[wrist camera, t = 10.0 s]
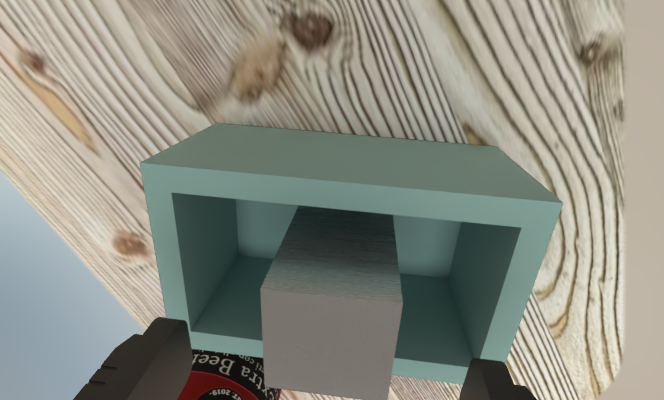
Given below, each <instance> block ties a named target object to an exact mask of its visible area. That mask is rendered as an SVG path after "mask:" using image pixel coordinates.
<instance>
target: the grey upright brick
mask: <svg viewBox="0 0 664 400" xmlns="http://www.w3.org/2000/svg"><path fill="white" fill-rule="evenodd" d="M260 293H261V316H262V338H263V361H264V383H265V387H270V388H277V389H285V390H292V391H300V392H308V393H315V394H323V395H331V396H338V397H346V398H354V399H361V400H387V398H388V392H389V386H390V380H391V374H392V368H393V362H394V356H395V350H396V344H397V338H398V332H399V326H400V319H401V313H402V307H403V300H402V291H401V282H400V273H399V265H398V256H397V247H396V238H395V229H394V220H393V215H391V214H381V213H371V212H361V211H351V210H341V209H331V208H321V207H311V206H301V205H299V206H298V208H297V210H296V212H295V214H294V217H293V219H292V221H291V223H290V225H289V227H288V230H287V232H286V234H285V236H284V238H283V241H282V243H281V245H280V247H279V249H278V251H277V254H276V256H275V258H274V260H273V262H272V265H271V267H270V269H269V271H268V273H267V275H266V278H265V280H264V282H263V284H262V286H261V288H260Z"/></svg>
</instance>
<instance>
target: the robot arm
mask: <svg viewBox="0 0 664 400" xmlns="http://www.w3.org/2000/svg"><path fill="white" fill-rule="evenodd" d="M192 364H193V355H192V349H191V343H190V336H189V330H188V324H187V322H186V321H185V320H179V319H171V318H163V317H158V318H156V319H155V320H154V321H153V322H152V323H151V325H150V326H149V327H148V329H147V330H146V331H145V332H144V334H143V335H138V334H134V335H133V336H131V337H130V338H129V339H127V340H126V341H125V342H123V343H122V344H120V345H119V346H118V347H116V348H115V349H114V351H113V352H112V353H111V354H110V355H109V357H108V358H107V359H106V360H105V361H104V363H103V364H102V365H101V368H100V369H98V370H97V371H96V372H95V374H94V375H93V376H92V377H91V379H90V380H89V383H88V384H86V385H85V386H84V387H83V388H82V389H81V391H80V392H79V393H78V394H77V395H76V397H75V398H74V399H73V400H177V399H178V397H179V395H180V393H181V392H182V390H183V388H184V386H185V384H186V382H187V380H188V378H189V375H190V373H191V369H192ZM459 400H537V399H536V398H535V397H534V396H533V395H532V393H531V392H530V391H529V390H528V389H527V387H526V386H520V385H514V383H513V381H512V378H511V376H510V373H509V371H508V368H507V366H506V365H505V363H504V362H502V361H496V360H488V359H480V358H472V360H471V362H470V365H469V368H468V371H467V374H466V377H465V380H464V383H463V387H462V390H461V393H460V398H459Z"/></svg>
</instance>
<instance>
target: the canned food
mask: <svg viewBox="0 0 664 400" xmlns="http://www.w3.org/2000/svg"><path fill="white" fill-rule="evenodd" d="M191 349H192V348H191ZM192 355H193V364H192V369H191V373H190V375H189V378H188V380H187V382H186V384H185V386H184V388H183V390H182V392H181V393H180V395H179V397H178V399H177V400H279V397H280V394H281V390H282V389H277V388H270V387H265V383H264V361H263V358H260V357H252V356H245V355H237V354H230V353H222V352H215V351H207V350H200V349H192Z"/></svg>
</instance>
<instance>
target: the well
mask: <svg viewBox="0 0 664 400" xmlns="http://www.w3.org/2000/svg"><path fill="white" fill-rule="evenodd" d="M140 168H141V174H142V180H143V185H144V191H145V197H146V203H147V208H148V214H149V220H150V226H151V231H152V237H153V243H154V249H155V255H156V260H157V266H158V272H159V278H160V283H161V289H162V295H163V301H164V306H165V312H166V318H171V319H179V320H185V321H186V322H187V324H188V330H189V336H190V343H191V348H192V349H200V350H207V351H215V352H222V353H230V354H237V355H245V356H252V357H260V358H263V338H262V316H261V293H260V288H261V286H262V284H263V282H264V280H265V278H266V275H267V273H268V271H269V269H270V267H271V265H272V262H273V260H274V258H275V256H276V254H277V251H278V249H279V247H280V245H281V243H282V241H283V238H284V236H285V234H286V232H287V230H288V227H289V225H290V223H291V221H292V219H293V217H294V214H295V212H296V210H297V208H298V206H299V205H301V206H311V207H321V208H331V209H341V210H351V211H361V212H371V213H381V214H391V215H393V220H394V229H395V238H396V247H397V256H398V265H399V273H400V282H401V291H402V300H403V307H402V313H401V319H400V326H399V332H398V338H397V344H396V350H395V356H394V362H393V368H392V374H391V375H395V376H402V377H410V378H417V379H425V380H432V381H440V382H447V383H455V384H462V385H463V383H464V380H465V377H466V374H467V371H468V368H469V365H470V362H471V360H472V358H480V359H488V360H496V361H502V362H504V363H505V362H506V359H507V357H508V354H509V351H510V348H511V346H512V343H513V340H514V337H515V335H516V332H517V329H518V326H519V324H520V321H521V318H522V315H523V313H524V310H525V307H526V304H527V302H528V299H529V296H530V293H531V291H532V288H533V285H534V282H535V280H536V277H537V274H538V271H539V269H540V266H541V263H542V260H543V258H544V255H545V252H546V249H547V247H548V244H549V241H550V238H551V236H552V233H553V230H554V227H555V225H556V222H557V219H558V216H559V214H560V211H561V208H562V205H563V202H562V201H560V200H559V199H558V198H557V197H556V196H554V195H553V194H552V193H551V192H550V191H549V190H547V189H546V188H545V187H544V186H543V185H541V184H540V183H539V182H538V181H537V180H536V179H534V178H533V177H532V176H531V175H530V174H528V173H527V172H526V171H525V170H524V169H523V168H521V167H520V166H519V165H518V164H517V163H515V162H514V161H513V160H512V159H511V158H510V157H508V156H507V155H506V154H505V153H504V152H503V151H501V150H500V149H499V148H498V147H494V146H482V145H470V144H458V143H446V142H435V141H423V140H411V139H399V138H387V137H375V136H364V135H352V134H340V133H328V132H316V131H305V130H293V129H281V128H269V127H257V126H245V125H234V124H222V123H216V124H214V125H212V126H210V127H208V128H206V129H204V130H202V131H201V132H199V133H197V134H195V135H193V136H191V137H189V138H187V139H185V140H183V141H181V142H179V143H177V144H175V145H173V146H171V147H170V148H168V149H166V150H164V151H162V152H160V153H158V154H156V155H154V156H152V157H150V158H148V159H146V160H144V161H142V162H140Z"/></svg>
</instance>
